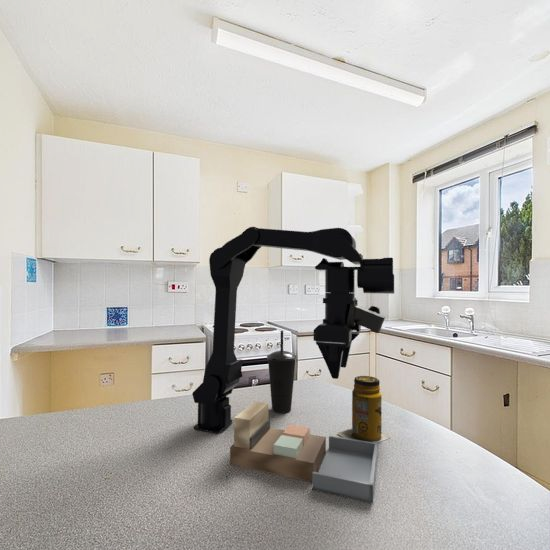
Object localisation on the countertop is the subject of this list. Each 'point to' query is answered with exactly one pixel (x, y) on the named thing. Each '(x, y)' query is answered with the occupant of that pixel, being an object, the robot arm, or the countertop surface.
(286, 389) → the drinking cup
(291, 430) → the tile terracotta
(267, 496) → the countertop surface
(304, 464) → the walnut board
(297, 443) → the tile sage
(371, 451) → the tray
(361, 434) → the condiment
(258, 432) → the tall cream block
